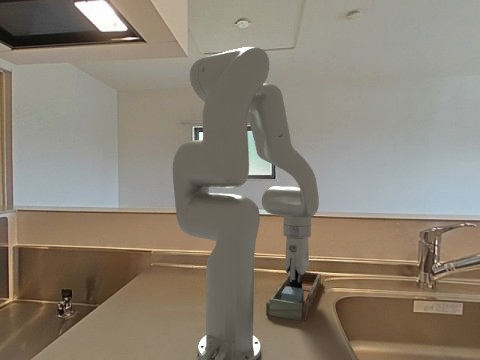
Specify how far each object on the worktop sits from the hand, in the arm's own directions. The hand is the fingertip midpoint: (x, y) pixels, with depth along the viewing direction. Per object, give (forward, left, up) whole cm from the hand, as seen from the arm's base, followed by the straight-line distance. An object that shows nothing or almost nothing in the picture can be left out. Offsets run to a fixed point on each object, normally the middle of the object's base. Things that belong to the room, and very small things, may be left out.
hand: (295, 294), depth 93 cm
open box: (+1, 0, -1) cm, 2 cm away
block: (-5, 0, -1) cm, 5 cm away
